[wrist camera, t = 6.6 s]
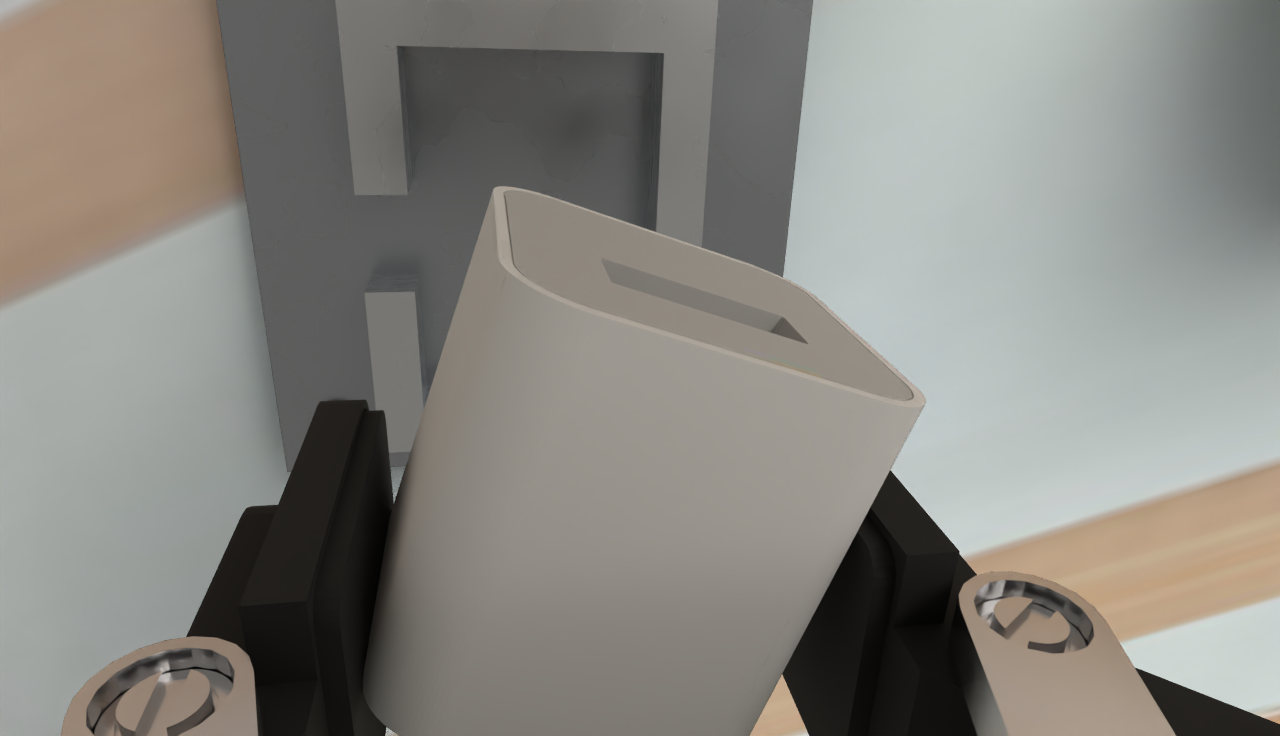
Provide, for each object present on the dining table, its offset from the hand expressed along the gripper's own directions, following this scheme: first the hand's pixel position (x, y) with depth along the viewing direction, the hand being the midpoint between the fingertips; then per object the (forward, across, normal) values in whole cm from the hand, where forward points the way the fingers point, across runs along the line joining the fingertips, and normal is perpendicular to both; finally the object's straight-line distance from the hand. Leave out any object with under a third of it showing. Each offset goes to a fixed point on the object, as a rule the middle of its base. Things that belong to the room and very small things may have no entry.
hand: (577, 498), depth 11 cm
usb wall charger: (+1, 0, 0) cm, 1 cm away
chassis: (+14, 0, -2) cm, 14 cm away
